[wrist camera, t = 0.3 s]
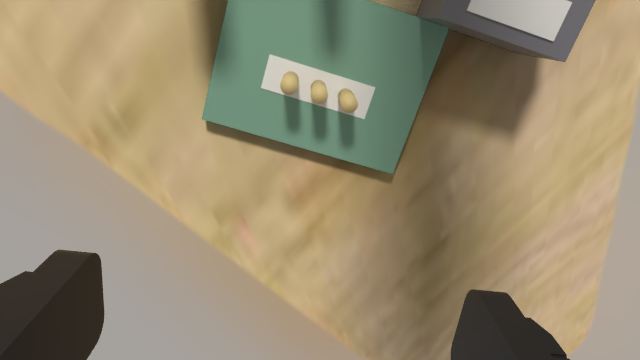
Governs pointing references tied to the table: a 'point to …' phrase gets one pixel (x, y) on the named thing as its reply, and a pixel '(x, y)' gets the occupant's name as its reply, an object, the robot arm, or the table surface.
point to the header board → (324, 75)
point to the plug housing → (514, 23)
